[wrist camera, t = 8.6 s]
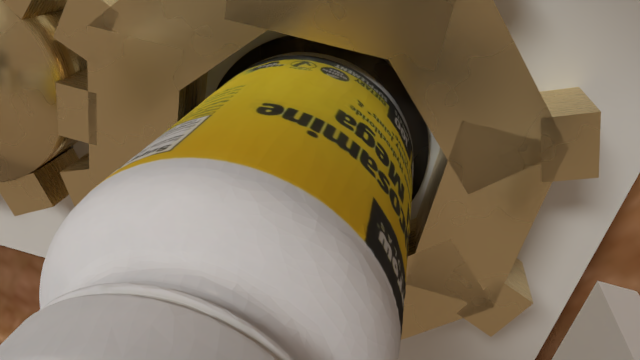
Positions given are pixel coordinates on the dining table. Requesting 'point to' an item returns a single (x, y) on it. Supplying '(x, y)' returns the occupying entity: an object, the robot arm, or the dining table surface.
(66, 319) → the pill bottle
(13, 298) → the dining table surface
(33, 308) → the dining table surface
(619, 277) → the dining table surface
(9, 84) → the gear
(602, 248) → the dining table surface
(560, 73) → the gear board
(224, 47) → the gear
